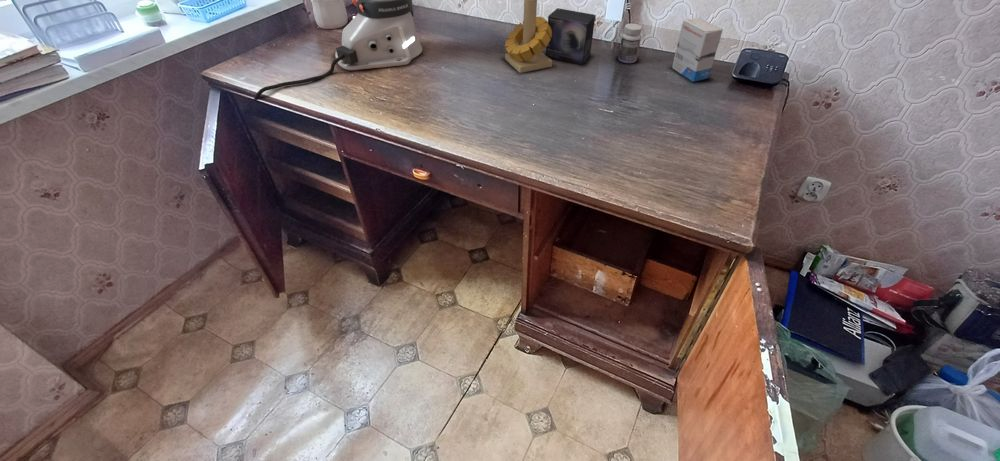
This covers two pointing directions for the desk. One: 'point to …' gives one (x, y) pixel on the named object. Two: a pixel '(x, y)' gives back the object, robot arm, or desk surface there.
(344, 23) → the cup
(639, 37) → the pill bottle
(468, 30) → the desk surface
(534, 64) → the tan peg stand
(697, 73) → the ink box
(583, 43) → the small box
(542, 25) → the ring
